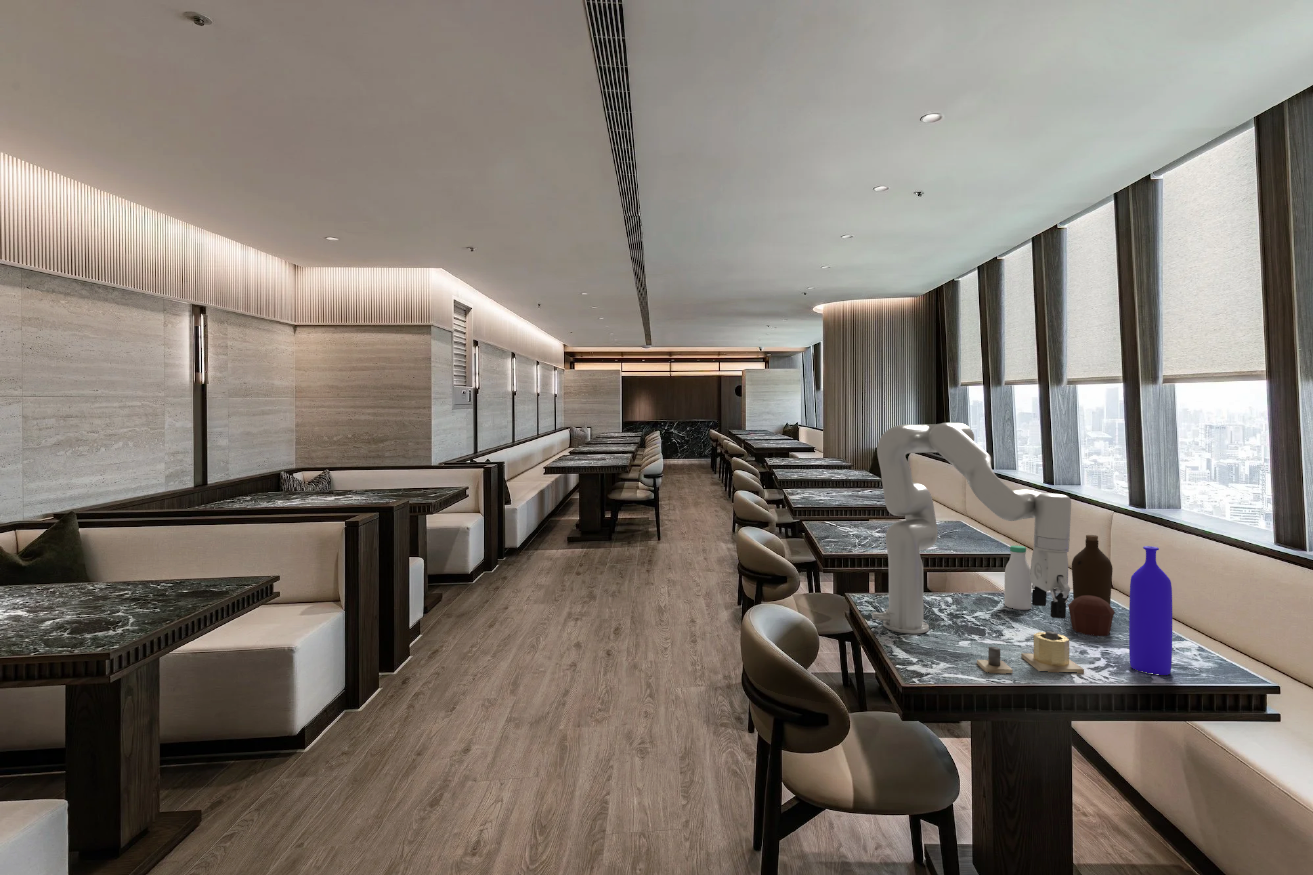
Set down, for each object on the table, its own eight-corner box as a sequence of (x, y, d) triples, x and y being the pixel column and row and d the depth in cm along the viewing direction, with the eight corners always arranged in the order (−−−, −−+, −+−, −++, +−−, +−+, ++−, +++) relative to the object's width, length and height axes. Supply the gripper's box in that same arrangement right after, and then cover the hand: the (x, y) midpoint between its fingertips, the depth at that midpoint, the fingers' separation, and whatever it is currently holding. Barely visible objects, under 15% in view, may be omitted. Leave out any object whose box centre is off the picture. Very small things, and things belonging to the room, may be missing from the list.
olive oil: (1109, 622, 194) (1109, 539, 193) (1068, 615, 201) (1068, 535, 201) (1114, 614, 201) (1115, 535, 201) (1075, 608, 209) (1075, 531, 208)
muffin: (1067, 623, 193) (1067, 590, 193) (1112, 628, 188) (1112, 594, 188) (1069, 634, 183) (1069, 599, 183) (1116, 640, 177) (1116, 604, 177)
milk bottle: (1035, 611, 206) (1035, 549, 206) (1009, 609, 207) (1009, 548, 207) (1026, 604, 213) (1026, 544, 213) (1001, 603, 215) (1001, 543, 215)
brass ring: (1042, 665, 157) (1042, 640, 156) (1029, 655, 163) (1030, 631, 163) (1073, 666, 156) (1073, 642, 156) (1059, 656, 163) (1059, 632, 162)
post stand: (1039, 671, 155) (1039, 638, 155) (1021, 656, 165) (1021, 626, 165) (1084, 673, 154) (1084, 640, 154) (1062, 658, 164) (1062, 627, 164)
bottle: (1181, 675, 152) (1182, 549, 152) (1148, 677, 151) (1149, 550, 151) (1151, 663, 160) (1152, 543, 160) (1120, 664, 160) (1121, 544, 159)
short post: (986, 672, 155) (986, 652, 155) (976, 663, 161) (976, 643, 161) (1012, 673, 154) (1012, 652, 154) (1002, 664, 160) (1002, 644, 160)
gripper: (1019, 536, 168) (1017, 600, 169) (1052, 550, 151) (1048, 622, 152) (1050, 537, 167) (1047, 602, 168) (1086, 551, 150) (1082, 623, 151)
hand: (1048, 611), depth 160 cm, fingers open, 9 cm apart
